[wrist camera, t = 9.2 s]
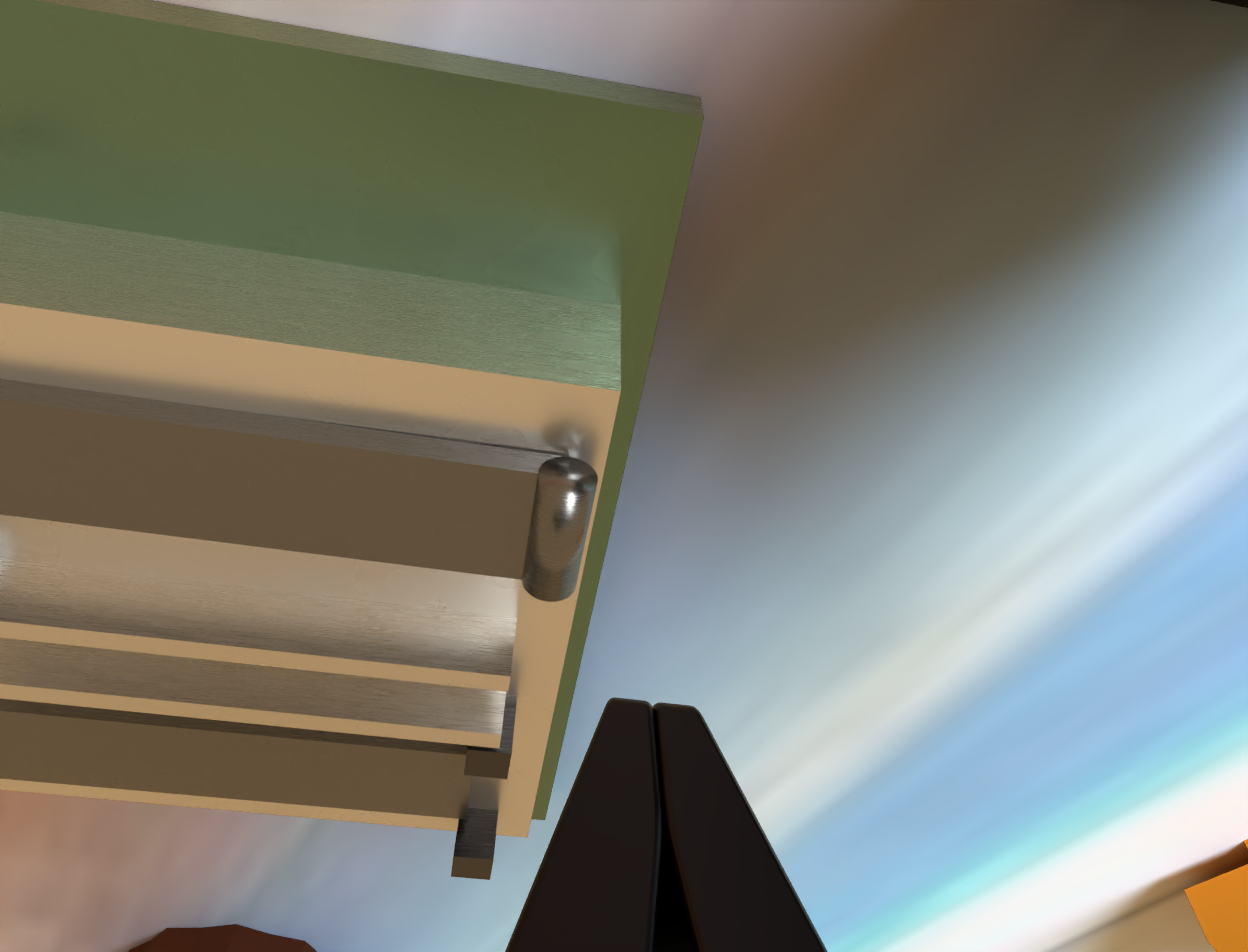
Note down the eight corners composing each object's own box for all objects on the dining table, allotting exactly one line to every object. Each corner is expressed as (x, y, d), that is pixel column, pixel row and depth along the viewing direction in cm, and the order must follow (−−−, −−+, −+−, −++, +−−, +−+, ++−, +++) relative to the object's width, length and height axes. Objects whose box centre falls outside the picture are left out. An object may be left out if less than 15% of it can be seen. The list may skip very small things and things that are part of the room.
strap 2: (-43, 752, 25) (-65, 792, 24) (-73, 681, 23) (-99, 720, 22) (469, 798, 26) (464, 837, 25) (477, 734, 24) (472, 774, 23)
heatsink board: (700, 97, 18) (724, 235, 14) (546, 792, 33) (535, 965, 29) (-237, -69, 17) (-534, 31, 12) (36, 743, 31) (-58, 919, 27)
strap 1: (598, 460, 19) (597, 499, 18) (577, 565, 21) (574, 604, 20) (-112, 362, 17) (-150, 398, 17) (-70, 483, 19) (-103, 521, 18)
